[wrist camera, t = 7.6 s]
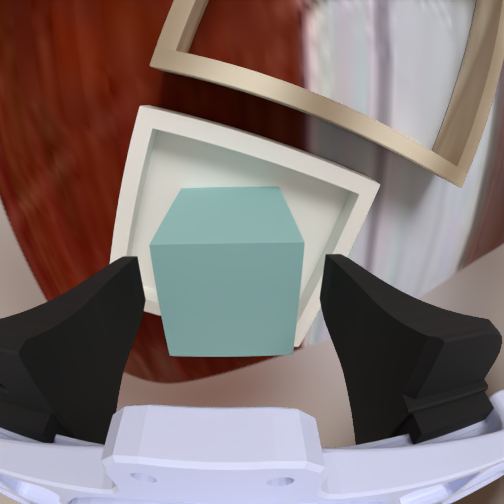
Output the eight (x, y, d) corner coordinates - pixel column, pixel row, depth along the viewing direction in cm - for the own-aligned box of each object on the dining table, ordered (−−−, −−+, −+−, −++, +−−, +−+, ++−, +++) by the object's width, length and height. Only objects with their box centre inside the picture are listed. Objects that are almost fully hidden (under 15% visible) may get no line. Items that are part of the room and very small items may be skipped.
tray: (368, 176, 15) (380, 184, 13) (294, 330, 19) (298, 347, 18) (149, 105, 13) (139, 106, 11) (114, 284, 17) (106, 299, 16)
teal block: (278, 186, 14) (304, 242, 9) (275, 271, 16) (292, 354, 11) (181, 188, 14) (149, 245, 9) (188, 272, 16) (170, 355, 11)
